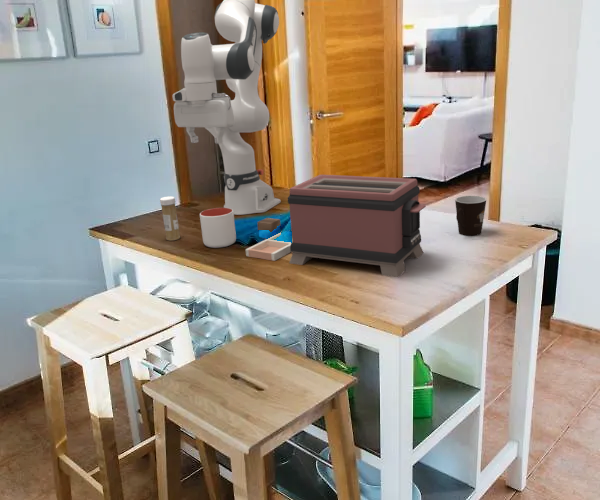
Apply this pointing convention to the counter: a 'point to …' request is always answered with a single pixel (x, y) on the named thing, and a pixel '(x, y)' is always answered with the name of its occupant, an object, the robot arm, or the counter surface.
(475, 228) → the coffee mug
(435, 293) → the counter surface
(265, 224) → the walnut block
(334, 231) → the toaster
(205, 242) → the cup
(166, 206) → the sprinkles bottle
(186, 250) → the counter surface
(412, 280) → the counter surface
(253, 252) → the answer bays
